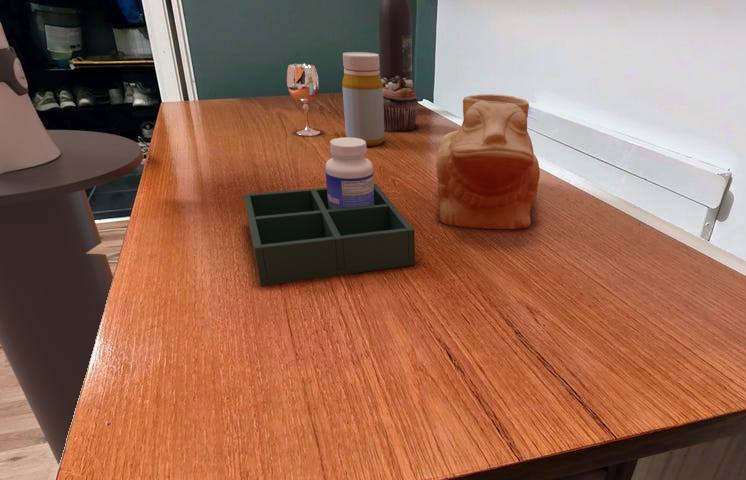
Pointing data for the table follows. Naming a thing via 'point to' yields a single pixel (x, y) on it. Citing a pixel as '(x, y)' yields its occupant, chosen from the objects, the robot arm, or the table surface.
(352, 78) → the bottle
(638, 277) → the table surface
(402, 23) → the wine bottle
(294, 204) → the organiser
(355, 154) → the pill bottle
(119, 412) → the table surface
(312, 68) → the wineglass
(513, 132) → the ceramic vessel
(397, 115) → the cupcake
